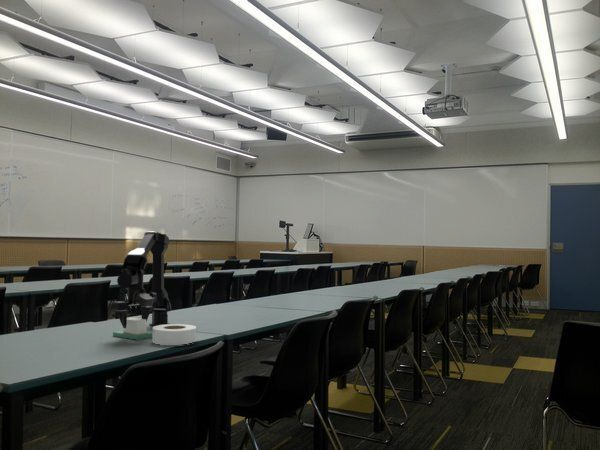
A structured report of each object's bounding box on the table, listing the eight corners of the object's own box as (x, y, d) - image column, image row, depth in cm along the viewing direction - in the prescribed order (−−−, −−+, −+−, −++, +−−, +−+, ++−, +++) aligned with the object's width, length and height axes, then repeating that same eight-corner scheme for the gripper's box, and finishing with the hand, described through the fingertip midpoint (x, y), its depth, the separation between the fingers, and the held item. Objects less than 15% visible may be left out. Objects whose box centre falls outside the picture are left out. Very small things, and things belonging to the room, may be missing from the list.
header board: (113, 336, 204) (113, 325, 204) (132, 332, 212) (132, 322, 212) (137, 340, 196) (137, 329, 197) (155, 336, 204) (156, 325, 204)
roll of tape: (196, 337, 204) (196, 323, 204) (195, 345, 188) (196, 330, 189) (154, 338, 201) (154, 323, 201) (150, 346, 186) (150, 330, 186)
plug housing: (123, 331, 204) (123, 318, 205) (132, 330, 208) (132, 317, 208) (136, 334, 200) (137, 320, 200) (146, 332, 204) (146, 319, 204)
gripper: (129, 288, 192) (128, 332, 192) (168, 285, 208) (167, 325, 207) (109, 287, 198) (108, 329, 198) (149, 284, 214) (148, 322, 214)
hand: (134, 326), depth 204 cm, fingers open, 9 cm apart
